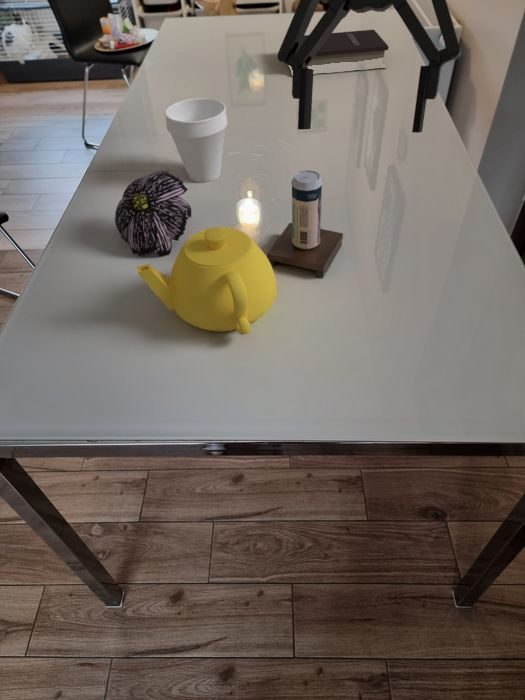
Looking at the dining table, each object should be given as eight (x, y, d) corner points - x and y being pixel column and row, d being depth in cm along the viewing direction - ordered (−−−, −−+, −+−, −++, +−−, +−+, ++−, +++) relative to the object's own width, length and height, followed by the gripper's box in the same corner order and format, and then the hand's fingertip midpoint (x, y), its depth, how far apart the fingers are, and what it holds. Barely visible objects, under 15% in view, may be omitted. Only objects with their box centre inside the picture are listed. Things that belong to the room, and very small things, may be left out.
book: (370, 48, 161) (372, 27, 157) (385, 68, 148) (388, 46, 143) (284, 56, 160) (284, 35, 156) (292, 76, 147) (292, 54, 143)
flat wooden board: (342, 245, 88) (343, 233, 86) (323, 278, 82) (324, 266, 80) (289, 234, 91) (289, 222, 89) (267, 265, 85) (267, 253, 83)
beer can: (325, 244, 84) (329, 177, 75) (302, 254, 82) (303, 187, 73) (309, 231, 87) (310, 166, 78) (286, 241, 85) (285, 175, 76)
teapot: (256, 260, 86) (251, 192, 77) (299, 330, 74) (300, 260, 64) (142, 290, 82) (122, 222, 73) (167, 370, 69) (147, 300, 60)
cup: (165, 175, 109) (152, 110, 99) (210, 156, 114) (201, 92, 104) (198, 195, 102) (187, 127, 92) (244, 173, 107) (238, 108, 98)
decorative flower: (81, 200, 84) (142, 144, 87) (103, 238, 95) (157, 187, 98) (143, 247, 80) (204, 186, 84) (159, 281, 91) (212, 226, 95)
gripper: (513, -103, 49) (471, 132, 58) (277, -73, 58) (273, 127, 67) (515, -136, 43) (468, 134, 52) (250, -97, 51) (250, 128, 61)
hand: (358, 131), depth 59 cm, fingers open, 13 cm apart
